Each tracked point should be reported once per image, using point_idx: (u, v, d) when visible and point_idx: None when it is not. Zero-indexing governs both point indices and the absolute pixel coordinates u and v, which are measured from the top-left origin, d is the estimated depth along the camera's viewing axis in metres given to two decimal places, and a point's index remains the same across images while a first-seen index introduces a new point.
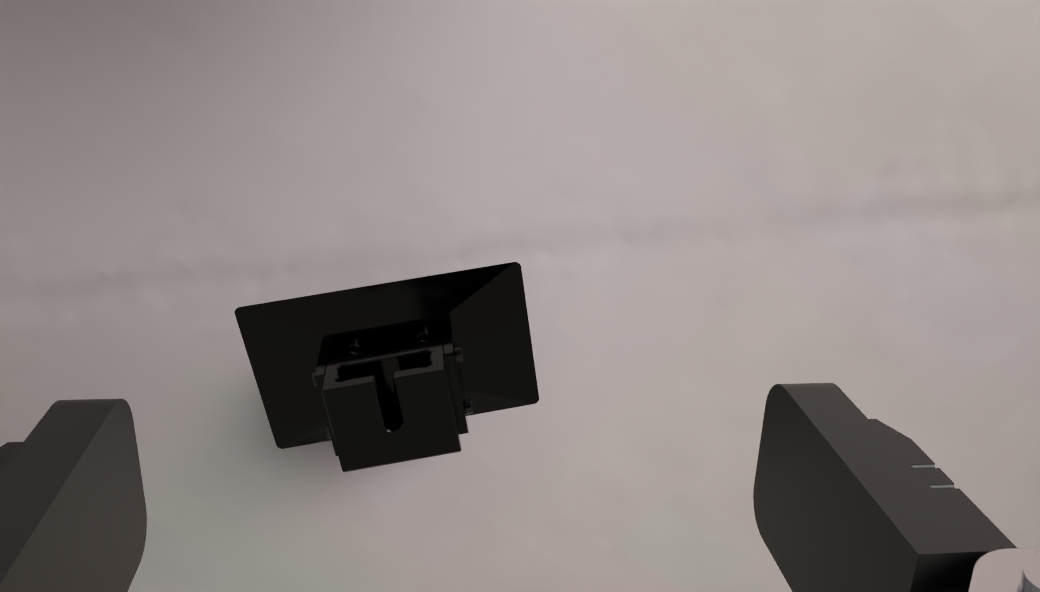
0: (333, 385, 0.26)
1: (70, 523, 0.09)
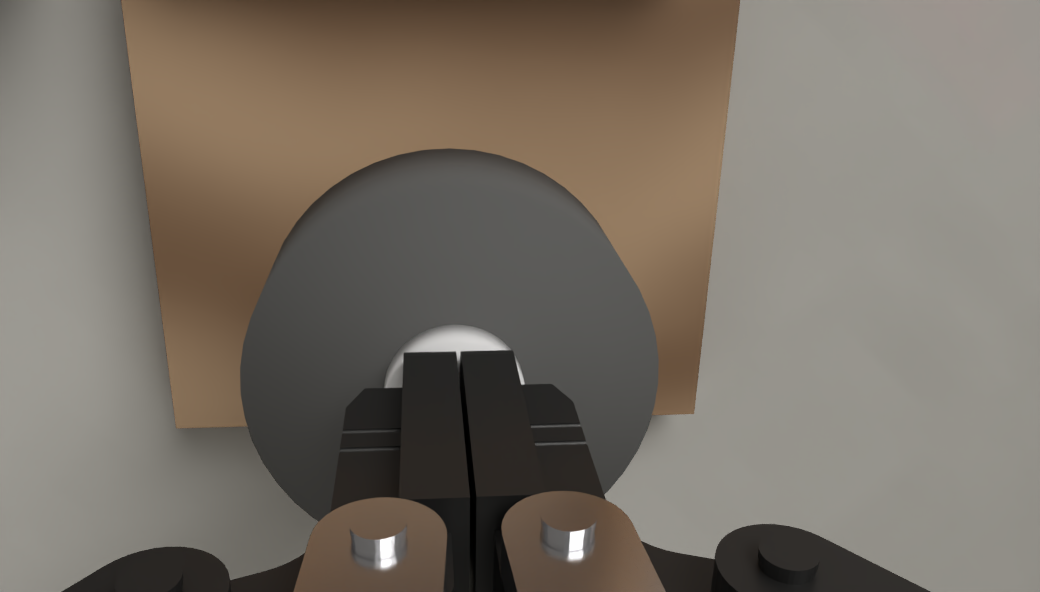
0: None
1: None
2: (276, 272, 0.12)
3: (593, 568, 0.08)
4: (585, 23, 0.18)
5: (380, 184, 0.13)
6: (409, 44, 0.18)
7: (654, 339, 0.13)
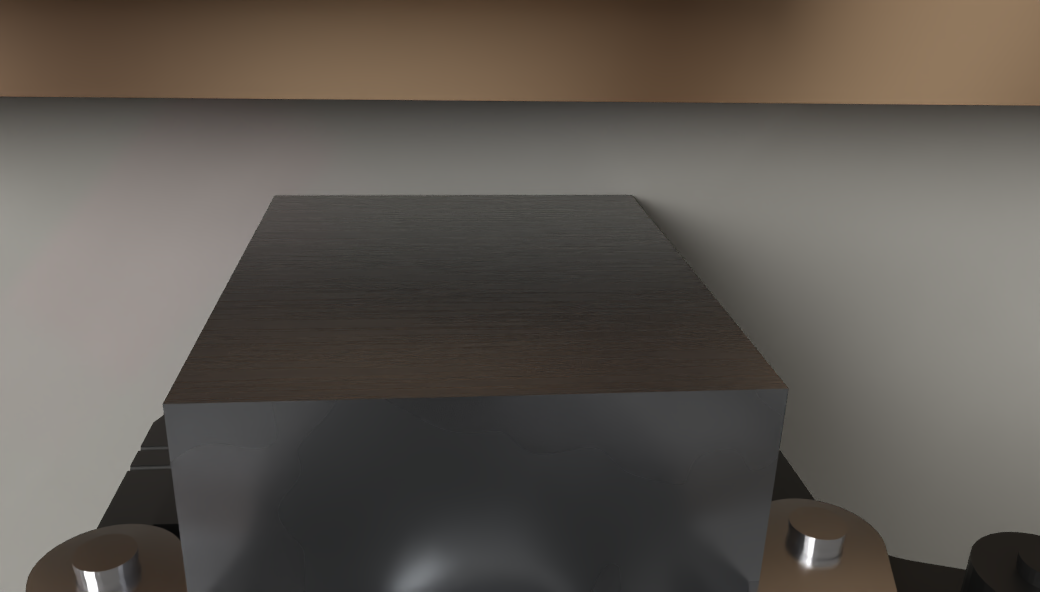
0: None
1: None
2: None
3: (858, 577, 0.08)
4: None
5: None
6: None
7: None
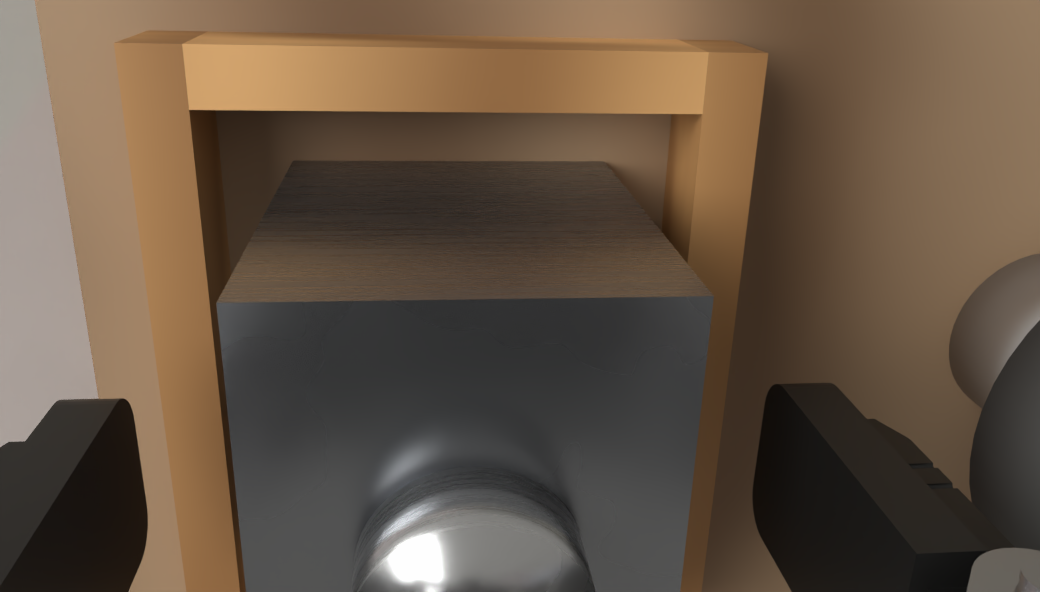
0: None
1: (72, 522, 0.09)
2: None
3: None
4: (808, 170, 0.14)
5: None
6: (804, 372, 0.16)
7: None
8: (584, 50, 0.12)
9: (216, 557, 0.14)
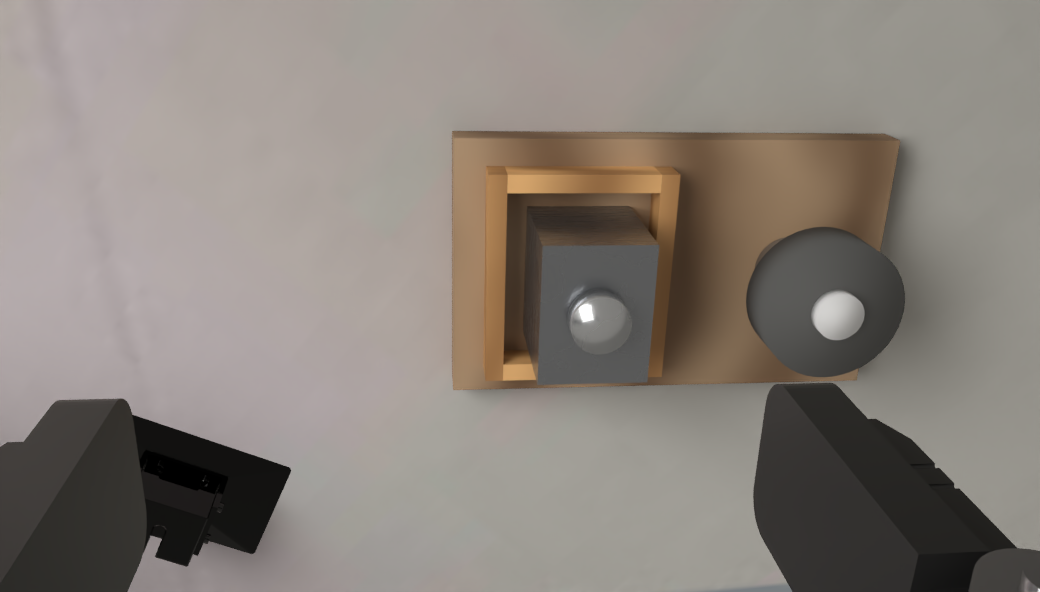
0: None
1: (70, 523, 0.09)
2: None
3: None
4: (699, 208, 0.41)
5: (759, 328, 0.38)
6: (701, 280, 0.43)
7: (828, 245, 0.37)
8: (624, 174, 0.39)
9: (497, 340, 0.41)
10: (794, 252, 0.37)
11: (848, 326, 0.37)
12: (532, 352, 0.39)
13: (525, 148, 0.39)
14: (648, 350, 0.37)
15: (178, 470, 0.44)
